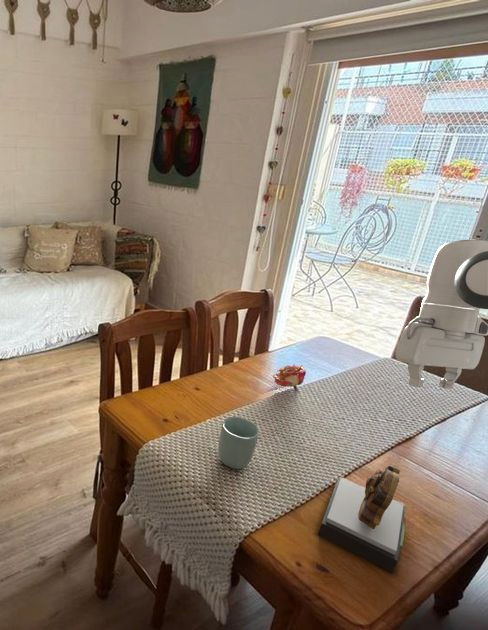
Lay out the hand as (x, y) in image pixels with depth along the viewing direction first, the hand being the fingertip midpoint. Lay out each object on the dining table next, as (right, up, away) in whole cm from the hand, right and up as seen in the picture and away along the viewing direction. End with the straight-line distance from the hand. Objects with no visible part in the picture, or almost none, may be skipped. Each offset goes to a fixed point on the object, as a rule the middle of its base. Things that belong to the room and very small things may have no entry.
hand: (430, 387), depth 90 cm
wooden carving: (-16, -24, -5) cm, 29 cm away
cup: (-36, -20, +13) cm, 43 cm away
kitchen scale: (-16, -27, -3) cm, 32 cm away
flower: (-8, -7, +44) cm, 46 cm away
